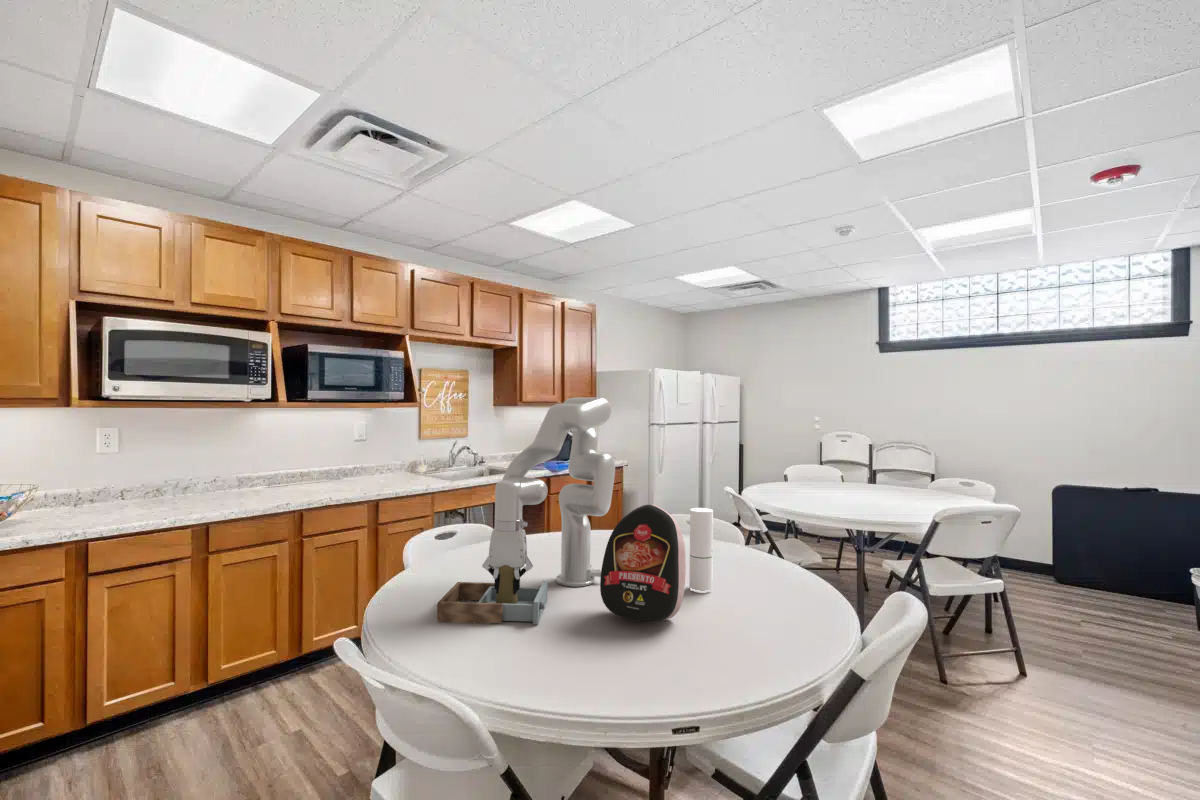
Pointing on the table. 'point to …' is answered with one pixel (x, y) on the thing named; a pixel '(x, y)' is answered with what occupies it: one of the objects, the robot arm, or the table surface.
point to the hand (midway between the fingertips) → (507, 591)
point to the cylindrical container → (701, 549)
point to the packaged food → (644, 566)
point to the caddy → (468, 605)
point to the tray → (521, 603)
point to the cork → (506, 586)
